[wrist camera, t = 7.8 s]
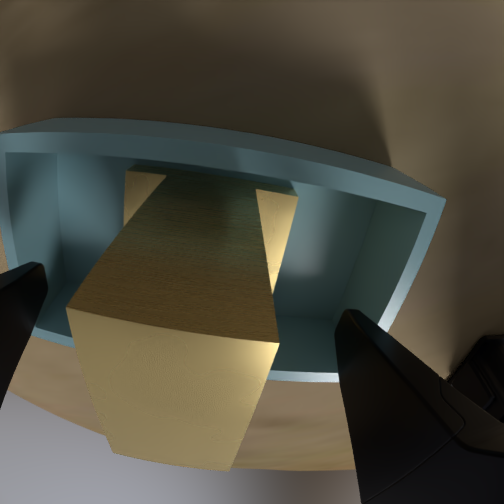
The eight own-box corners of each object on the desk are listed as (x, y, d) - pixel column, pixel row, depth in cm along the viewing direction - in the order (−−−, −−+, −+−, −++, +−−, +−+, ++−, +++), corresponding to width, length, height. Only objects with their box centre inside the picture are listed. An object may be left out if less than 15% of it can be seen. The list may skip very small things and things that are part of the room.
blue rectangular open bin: (392, 167, 11) (446, 199, 8) (336, 322, 15) (357, 381, 12) (54, 117, 10) (-7, 134, 6) (64, 283, 14) (28, 334, 10)
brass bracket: (293, 188, 11) (375, 349, 4) (265, 297, 14) (285, 472, 6) (134, 164, 10) (-8, 286, 3) (131, 276, 13) (62, 437, 6)
